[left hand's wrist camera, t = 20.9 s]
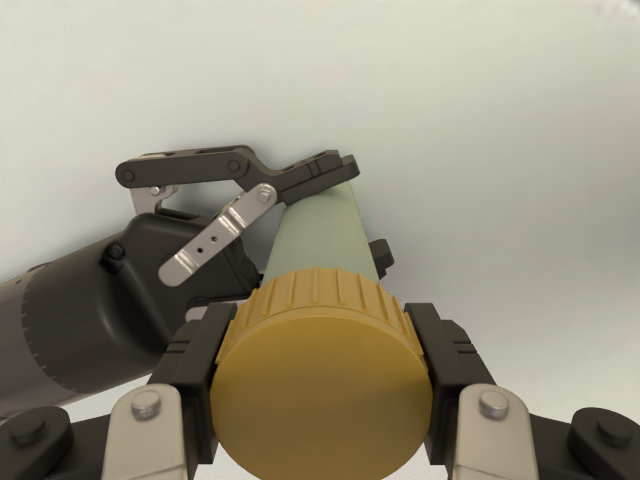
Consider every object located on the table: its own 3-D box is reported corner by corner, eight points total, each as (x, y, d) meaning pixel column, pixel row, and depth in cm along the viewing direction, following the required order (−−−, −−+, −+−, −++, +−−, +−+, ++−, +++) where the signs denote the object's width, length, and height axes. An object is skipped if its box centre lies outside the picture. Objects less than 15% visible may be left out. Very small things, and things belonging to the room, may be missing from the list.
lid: (197, 379, 12) (169, 447, 9) (280, 229, 10) (269, 269, 8) (353, 446, 12) (360, 522, 10) (452, 318, 11) (485, 376, 9)
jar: (363, 207, 27) (437, 416, 10) (309, 237, 28) (291, 478, 11) (332, 152, 26) (357, 283, 9) (277, 184, 26) (198, 364, 9)
